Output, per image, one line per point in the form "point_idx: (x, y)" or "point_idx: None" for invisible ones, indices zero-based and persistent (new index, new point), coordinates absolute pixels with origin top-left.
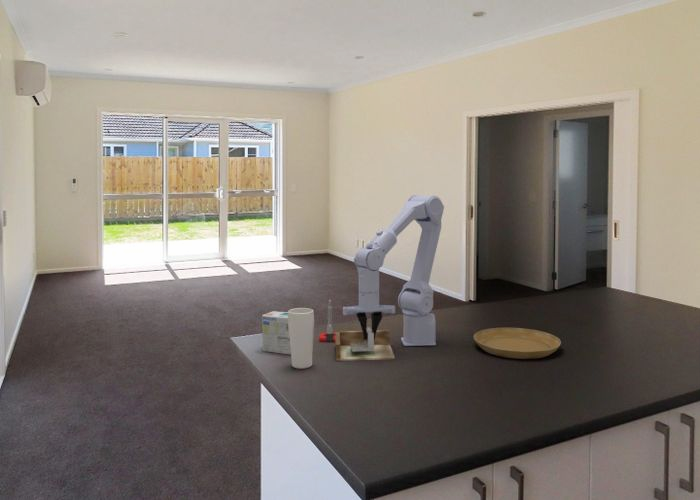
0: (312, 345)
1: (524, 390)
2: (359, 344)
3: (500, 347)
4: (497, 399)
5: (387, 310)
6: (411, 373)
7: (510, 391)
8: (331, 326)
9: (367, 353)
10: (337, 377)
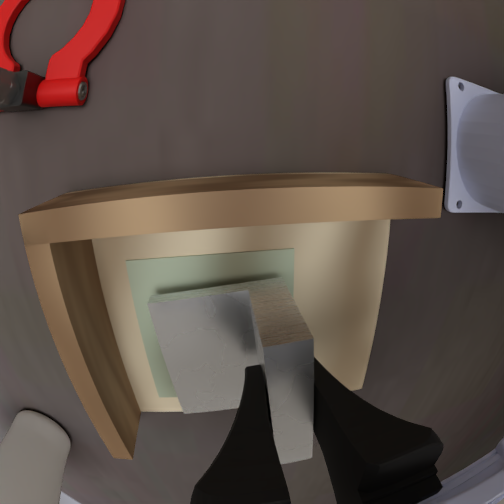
0: (58, 491)
1: (477, 449)
2: (214, 345)
3: None
4: None
5: (477, 483)
6: None
7: (462, 458)
8: None
9: None
10: (171, 490)
